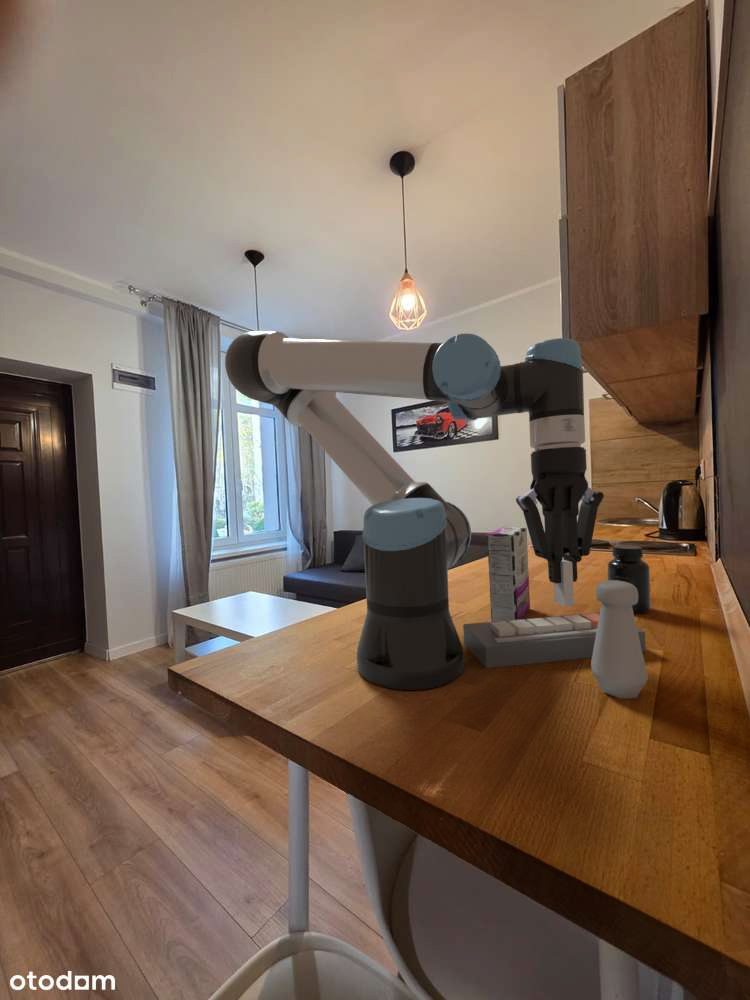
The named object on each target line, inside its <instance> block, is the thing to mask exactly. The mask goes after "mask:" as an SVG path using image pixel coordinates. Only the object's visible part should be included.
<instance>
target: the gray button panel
mask: <svg viewBox="0 0 750 1000" xmlns="http://www.w3.org/2000/svg"><path fill="white" fill-rule="evenodd" d="M599 615H600V611H598V612H588V613H587V612H586V613H577V614H567V615H565V614H564V615H556V616H555V615H554V616H543V617H532V618H531V617H530V618H522V619H518V620H506V621H495V622H492V621H487V622H475V623H473V622H472V623H463V625H462V626H463V627H462V628H463V643H464V645H466V647H467V648H468V649H469V650H470V651H471V653H472V654H473V655H474V656H475V657H476V658H477V659H478V660H479V662H481V664H482V665H483V666H484V667H485V668H486V669H490V668H491V669H493V668H502V667H513V666H520V665H522V666H523V665H531V664H533V665H534V664H541V663H552V662H560V661H570V660H571V661H572V660H580V659H581V660H582V659H590V658H591V659H592V655H593V649H594V644H595V638H596V632H597V626H598V621H599ZM637 631H638V636H639V640H640V645H641V649H642V653H646V631H645V630H642V629H640V628H638V627H637Z"/></svg>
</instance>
